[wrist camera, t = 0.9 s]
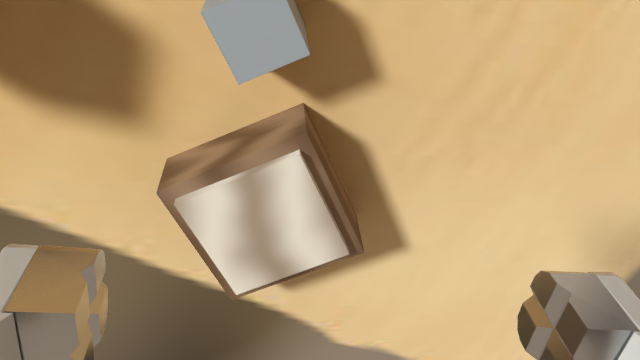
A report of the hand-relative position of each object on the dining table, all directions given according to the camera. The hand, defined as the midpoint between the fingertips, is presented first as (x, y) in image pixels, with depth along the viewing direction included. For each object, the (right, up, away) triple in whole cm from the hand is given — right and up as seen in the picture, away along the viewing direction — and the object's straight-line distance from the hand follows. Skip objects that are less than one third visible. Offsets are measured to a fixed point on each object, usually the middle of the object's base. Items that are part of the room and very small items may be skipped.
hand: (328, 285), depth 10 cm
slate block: (-5, +14, +29) cm, 32 cm away
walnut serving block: (-5, +1, +37) cm, 37 cm away
